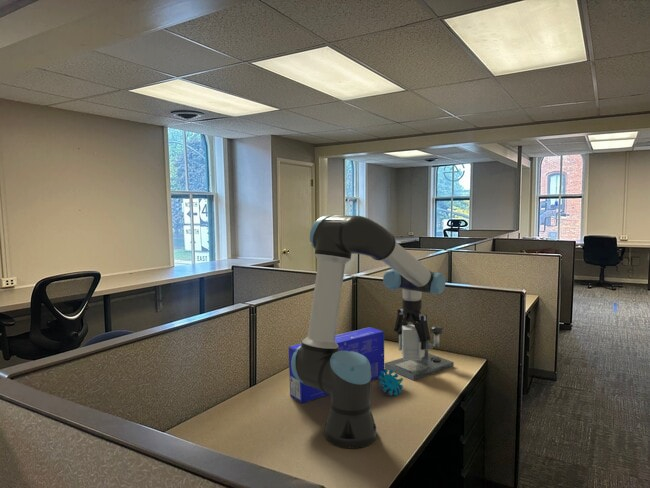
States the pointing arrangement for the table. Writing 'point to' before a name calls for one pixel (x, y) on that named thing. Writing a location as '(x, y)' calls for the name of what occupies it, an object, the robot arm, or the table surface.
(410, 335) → the supplement box
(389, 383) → the gear
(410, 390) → the table surface
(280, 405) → the table surface
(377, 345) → the toner cartridge box
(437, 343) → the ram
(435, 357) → the plate
